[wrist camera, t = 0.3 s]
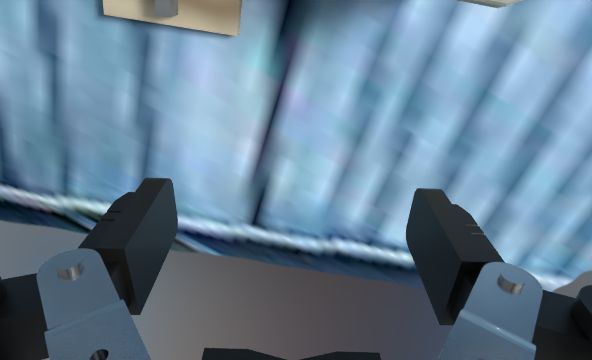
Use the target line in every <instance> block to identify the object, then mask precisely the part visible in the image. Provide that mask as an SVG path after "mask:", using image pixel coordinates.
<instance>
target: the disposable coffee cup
mask: <svg viewBox="0 0 592 360" xmlns="http://www.w3.org/2000/svg"><path fill="white" fill-rule="evenodd" d="M459 1H464V2H469V3H474V4H479V5H484V6H489V7H494V8H500V7H504V6H508V5H511V4H513V3H516V2H519V1H522V0H459Z"/></svg>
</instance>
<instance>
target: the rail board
mask: <svg viewBox="0 0 592 360" xmlns="http://www.w3.org/2000/svg"><path fill="white" fill-rule="evenodd" d="M241 4H242V0H103V8H104V15H110V16H116V17H122V18H128V19H135V20H141V21H147V22H153V23H159V24H165V25H172V26H178V27H184V28H190V29H196V30H202V31H209V32H215V33H221V34H227V35H233V36H238V35H239V30H240V17H241Z"/></svg>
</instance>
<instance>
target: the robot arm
mask: <svg viewBox="0 0 592 360" xmlns="http://www.w3.org/2000/svg"><path fill="white" fill-rule="evenodd" d="M477 225H478V224H477V223H476V222H475V220H474V219H473V217H472V216H471V215H470V214H469V213H468V212H467V211H465V210H464V209H463V208H461V207H460V206H459V205H456V204H451V202H450V201H449V199H448V198H447V196H446V195H445V193H444V192H443V190H441V189H424V188H418V189H417V190H416V191H415V193H414V197H413V202H412V206H411V210H410V214H409V219H408V223H407V227H406V241H407V245H408V248H409V250H410V253H411V255H412V257H413V260H414V262H415V265H416V267H417V270H418V272H419V275H420V277H421V280H422V282H423V285H424V287H425V289H426V292H427V294H428V297H429V299H430V302H431V304H432V307H433V309H434V311H435V314H436V316H437V319H438V321H439V324H440V325H454V326H453V328H452V330H451V332H450V335H449V337H448V339H447V341H446V343H445V345H444V347H443V349H442V352H441V354H440V356H439V358H438V360H592V285H589V286H585V287H583V288H582V289H581V290H580V292H579V294H578V295H577V297H576V298H572V297H568V296H564V295H560V294H556V293H553V292H549V291H545V290H542V287H541V285H540V283H539V282H538V281H537V280H536V279H535V277H533V276H532V275H531V274H530V273H528V272H527V271H525V270H523V269H521V268H519V267H517V266H515V265H512V264H508V263H505V262H504V261H503V259H502V258H501V256H500V255H499V254H498V252H497V251H496V249H495V248H494V247H493V245H492V244H491V242H490V241H489V240H488V238H487V237H486V235H484V233H483V231H482V230H481V229H480V227H478V226H477ZM177 226H178V218H177V211H176V203H175V196H174V189H173V183H172V181H171V179H169V178H145V179H144V180H143V182H142V183H141V185H140V186H139V187H138V189H137V190H136V192H128V193H126V194H125V195H123V196H122V197H120V198H118V199H117V200H115V201H114V203H113V204H112V205H111V206H110V208H109V209H108V210H107V213H105V214H104V215H103V217H102V218H101V221H99V222H98V223H97V224H96V226H95V227H94V228H93V229H92V231H91V232H90V233H89V235H88V236H87V237H86V238H85V240H84V241H83V242H82V243H81V245H80V246H79V247H78V249H72V250H68V251H65V252H62V253H59V254H57V255H55V256H53V257H52V258H50V259H48V260H47V261H46V262H45V263H44V264H43V265H42V266H41V267H40V268H39V270H38V272H37V273H36V274H30V275H25V276H19V277H14V278H8V279H3V280H2V279H1V277H0V360H42V359H46V358H49V359H50V360H151V358H150V356H149V354H148V352H147V350H146V348H145V345H144V343H143V341H142V339H141V337H140V334H139V332H138V330H137V328H136V326H135V323H134V321H133V319H132V317H131V315H140V314H141V311H142V309H143V307H144V305H145V303H146V301H147V298H148V296H149V294H150V292H151V289H152V287H153V285H154V283H155V280H156V278H157V276H158V274H159V272H160V270H161V267H162V265H163V263H164V261H165V258H166V256H167V254H168V252H169V250H170V247H171V245H172V243H173V241H174V239H175V236H176V233H177ZM202 360H286V359H282V358H278V357H274V356H271V355H267V354H264V353H260V352H256V351H253V350H249V349H223V348H204V352H203V357H202ZM301 360H381V359H380V353H369V352H333V353H329V354H324V355H319V356H314V357H310V358H305V359H301Z"/></svg>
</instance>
